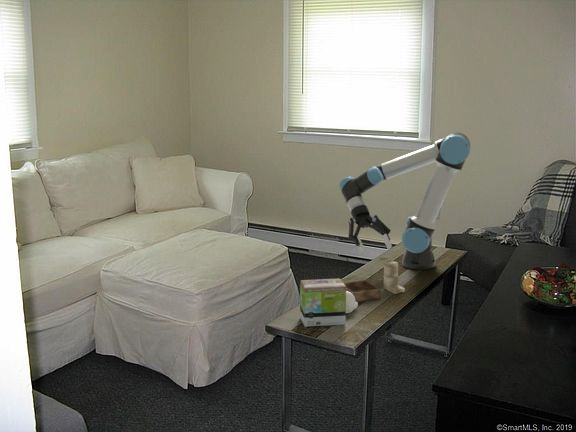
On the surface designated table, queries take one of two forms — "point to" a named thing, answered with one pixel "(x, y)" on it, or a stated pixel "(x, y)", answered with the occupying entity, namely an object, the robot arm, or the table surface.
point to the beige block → (392, 278)
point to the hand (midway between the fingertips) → (376, 249)
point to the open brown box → (363, 290)
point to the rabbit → (350, 302)
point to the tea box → (322, 302)
